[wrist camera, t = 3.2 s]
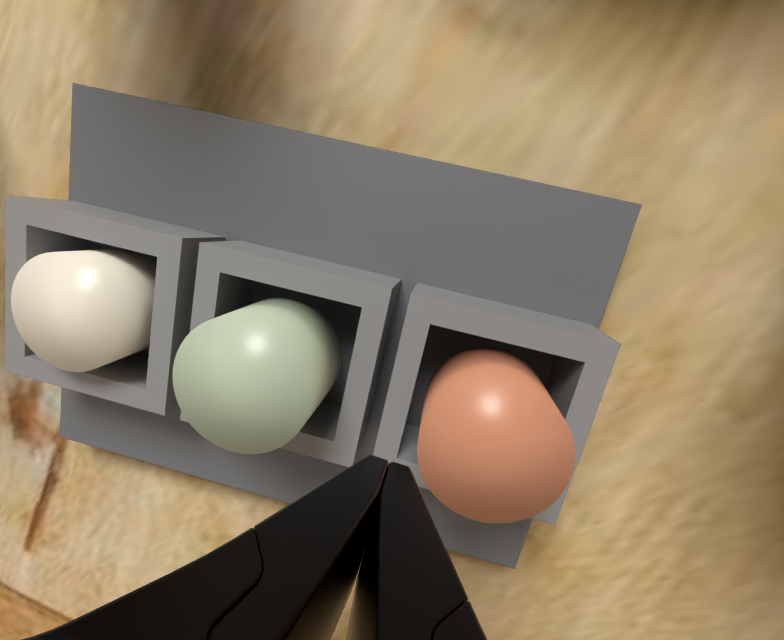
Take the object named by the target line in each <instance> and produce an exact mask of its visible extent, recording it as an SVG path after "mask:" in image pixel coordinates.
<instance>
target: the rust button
mask: <svg viewBox="0 0 784 640" xmlns="http://www.w3.org/2000/svg"><path fill="white" fill-rule="evenodd" d="M417 458H418V465H419V469H420V472H421V475H422V477H423V479H424V481H425V483H426V485H427V487H428V488H429V489H430V491H431V492H432V493H433V495H434V496H435V497H436V498H437V499H438V500H439V501H440V502H441V503H442V504H444V505H445V506H446V507H447V508H449V509H450V510H452V511H454V512H455V513H457V514H459V515H461V516H463V517H466V518H469V519H472V520H475V521H479V522H484V523H493V524H497V523H512V522H517V521H521V520H524V519H527V518H530V517H533V516H534V515H536V514H538V513H540V512H542V511H543V510H545V509H546V508H548V507H549V506H550V505H551V504H553V503H554V502H555V501H556V500H557V499H558V498H559V496H560V495H561V494H562V493H563V491H564V490H565V488H566V487H567V485H568V483H569V481H570V478H571V476H572V473H573V469H574V463H575V446H574V440H573V437H572V434H571V431H570V429H569V427H568V425H567V423H566V421H565V419H564V417H563V416H562V414H561V413H560V411H559V409H558V408H557V406H556V404H555V403H554V401H553V400H552V398H551V396H550V395H549V393H548V392H547V390H546V388H545V387H544V385H543V383H542V382H541V380H540V379H539V377H538V376H537V374H536V373H535V371H534V370H533V369H532V368H531V367H530V366H529V365H528V364H527V363H526V362H525V361H523V360H522V359H520V358H519V357H517V356H515V355H513V354H511V353H509V352H506V351H503V350H499V349H494V348H475V349H470V350H466V351H463V352H460V353H458V354H456V355H454V356H452V357H450V358H449V359H447V360H446V361H445V362H443V363H442V364H441V365H440V366H439V367H438V368H437V369H436V371H435V372H434V373H433V375H432V376H431V378H430V380H429V382H428V385H427V388H426V391H425V396H424V402H423V409H422V416H421V423H420V430H419V436H418V443H417Z"/></svg>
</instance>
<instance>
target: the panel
mask: <svg viewBox="0 0 784 640" xmlns="http://www.w3.org/2000/svg"><path fill="white" fill-rule="evenodd" d="M641 206H642V205H641V204H636V203H631V202H627V201H622V200H617V199H613V198H608V197H603V196H599V195H594V194H589V193H585V192H580V191H575V190H571V189H566V188H561V187H557V186H552V185H547V184H543V183H538V182H533V181H529V180H524V179H519V178H515V177H510V176H505V175H501V174H496V173H491V172H487V171H482V170H477V169H473V168H468V167H463V166H459V165H454V164H449V163H444V162H440V161H435V160H430V159H426V158H421V157H416V156H412V155H407V154H402V153H398V152H393V151H388V150H384V149H379V148H374V147H370V146H365V145H360V144H356V143H351V142H346V141H342V140H337V139H332V138H328V137H323V136H318V135H314V134H309V133H304V132H300V131H295V130H290V129H286V128H281V127H276V126H272V125H267V124H262V123H257V122H253V121H248V120H243V119H239V118H234V117H229V116H225V115H220V114H215V113H211V112H206V111H201V110H197V109H192V108H187V107H183V106H178V105H173V104H169V103H164V102H159V101H155V100H150V99H145V98H141V97H136V96H131V95H127V94H122V93H117V92H113V91H108V90H103V89H99V88H94V87H89V86H85V85H80V84H75V83H73V90H72V117H71V145H70V172H69V200H56V199H44V198H32V197H19V196H7V195H5V371H6V372H10V373H14V374H17V375H21V376H24V377H28V378H32V379H35V380H39V381H42V382H46V383H49V384H53V385H57V386H60V387H62V392H61V419H60V437H62V438H66V439H69V440H73V441H76V442H80V443H83V444H86V445H90V446H93V447H97V448H100V449H104V450H107V451H110V452H114V453H117V454H121V455H124V456H128V457H131V458H135V459H138V460H141V461H145V462H148V463H152V464H155V465H159V466H162V467H166V468H169V469H172V470H176V471H179V472H183V473H186V474H190V475H193V476H197V477H200V478H203V479H207V480H210V481H214V482H217V483H221V484H224V485H228V486H231V487H234V488H238V489H241V490H245V491H248V492H252V493H255V494H259V495H262V496H265V497H269V498H272V499H276V500H279V501H283V502H286V503H290V504H291V503H293V502H294V501H296V500H297V499H299V498H301V497H302V496H304V495H305V494H307V493H309V492H310V491H312V490H314V489H315V488H317V487H318V486H320V485H322V484H323V483H325V482H326V481H328V480H330V479H331V478H333V477H335V476H336V475H338V474H339V473H341V472H343V471H344V470H346V469H347V468H349V467H351V466H352V465H354V464H355V463H357V462H359V461H360V460H362V459H364V458H365V457H367V456H369V455H374V456H377V457H380V458H383V459H386V460H388V462H389V463H390V462H396V463H399V464H403V465H406V466H408V467H410V469H411V471H412V473H413V475H414V477H415V480H416V482H417V484H418V486H419V489H420V491H421V493H422V495H423V498H424V500H425V502H426V504H427V507H428V509H429V511H430V513H431V516H432V518H433V520H434V522H435V525H436V527H437V529H438V531H439V534H440V536H441V538H442V540H443V543H444V545H445V547H446V549H448V550H451V551H455V552H458V553H462V554H465V555H469V556H472V557H475V558H479V559H482V560H486V561H489V562H493V563H496V564H500V565H503V566H506V567H510V568H513V569H515V566H516V563H517V560H518V558H519V555H520V552H521V549H522V546H523V543H524V540H525V537H526V535H527V532H528V529H529V526H530V523H531V520H532V519H536V520H539V521H543V522H546V523H550V524H554V525H555V523H556V520H557V518H558V515H559V512H560V509H561V507H562V504H563V501H564V499H565V496H566V493H567V490H568V488H569V485H570V482H571V479H572V477H573V474H574V471H575V468H576V466H577V463H578V460H579V458H580V455H581V452H582V449H583V447H584V444H585V441H586V438H587V436H588V433H589V430H590V428H591V425H592V422H593V419H594V417H595V414H596V411H597V408H598V406H599V403H600V400H601V397H602V395H603V392H604V389H605V387H606V384H607V381H608V378H609V376H610V373H611V370H612V367H613V365H614V362H615V359H616V356H617V354H618V351H619V348H620V346H621V344H620V343H619V342H617V341H616V340H614V339H613V338H611V337H610V336H608V335H606V334H605V333H603V332H602V331H600V330H599V326H600V323H601V320H602V317H603V314H604V311H605V309H606V306H607V303H608V300H609V297H610V294H611V291H612V289H613V286H614V283H615V280H616V277H617V274H618V271H619V269H620V266H621V263H622V260H623V257H624V254H625V251H626V249H627V246H628V243H629V240H630V237H631V234H632V231H633V228H634V226H635V223H636V220H637V217H638V214H639V211H640V208H641ZM121 248H124V249H128V250H132V251H136V252H140V253H144V254H148V255H152V256H156V257H157V266H156V278H155V289H154V300H153V312H152V323H151V335H150V346H149V348H147V349H145V350H142V351H139V352H137V353H134V354H132V355H129V356H126V357H124V358H121V359H119V360H116V361H114V362H111V363H108V364H106V365H103V366H101V367H98V368H95V369H93V370H90V371H85V372H69V371H65V370H61V369H58V368H56V367H54V366H52V365H50V364H48V363H46V362H45V361H43V360H42V359H41V358H39V357H38V356H37V355H36V354H35V353H34V352H33V351H32V350H31V349H30V348H29V347H28V345H27V344H26V343H25V341H24V340H23V338H22V337H21V335H20V333H19V331H18V329H17V327H16V324H15V321H14V318H13V314H12V308H11V291H12V286H13V283H14V280H15V277H16V275H17V274H18V272H19V270H20V269H21V268H22V266H23V265H24V264H25V263H26V262H27V261H29V260H30V259H32V258H33V257H35V256H38V255H40V254H44V253H49V252H63V251H82V250H101V249H121ZM273 297H288V298H294V299H297V300H301V301H303V302H305V303H307V304H309V305H311V306H313V307H314V308H316V309H317V310H318V311H319V312H321V313H322V314H323V315H324V316H325V317H326V318H327V320H328V321H329V322H330V324H331V325H332V327H333V329H334V330H335V332H336V335H337V337H338V340H339V343H340V348H341V368H340V372H339V375H338V378H337V380H336V382H335V384H334V385H333V387H332V388H331V390H330V391H329V392H328V394H327V395H326V396H325V398H324V399H323V400H322V402H321V403H320V404H319V406H318V407H317V408H316V410H315V411H314V412H313V414H312V415H311V416H310V418H309V419H308V420H307V422H306V423H305V424H304V426H303V427H302V428H301V430H300V431H299V432H298V433H297V435H296V436H295V437H294V438H293V439H291V440H290V441H289V442H288V443H286V444H285V445H283V446H282V447H280V448H278V449H275V450H273V451H270V452H266V453H261V454H240V453H236V452H231V451H228V450H225V449H223V448H220V447H218V446H216V445H214V444H213V443H211V442H210V441H208V440H206V439H205V438H204V437H203V436H201V435H200V434H199V433H198V432H197V431H196V430H195V429H194V428H193V427H192V426H191V424H190V423H189V422H188V421H187V419H186V418H185V416H184V414H183V413H182V411H181V409H180V407H179V405H178V402H177V399H176V396H175V392H174V388H173V378H172V377H173V365H174V360H175V357H176V353H177V351H178V349H179V347H180V345H181V343H182V342H183V340H184V339H185V337H186V336H187V335H188V334H189V333H190V332H191V331H192V330H193V329H195V328H196V327H197V326H199V325H200V324H202V323H204V322H206V321H208V320H211V319H213V318H216V317H219V316H221V315H224V314H227V313H229V312H232V311H235V310H238V309H240V308H243V307H246V306H248V305H251V304H254V303H257V302H259V301H262V300H265V299H269V298H273ZM475 348H494V349H499V350H503V351H506V352H509V353H511V354H513V355H515V356H517V357H519V358H520V359H522V360H523V361H525V362H526V363H527V364H528V365H529V366H530V367H531V368H532V369H533V370H534V371H535V373H536V374H537V376H538V377H539V379H540V380H541V382H542V383H543V385H544V387H545V388H546V390H547V392H548V393H549V395H550V396H551V398H552V400H553V401H554V403H555V404H556V406H557V408H558V409H559V411H560V413H561V414H562V416H563V417H564V419H565V421H566V423H567V425H568V427H569V429H570V431H571V434H572V437H573V440H574V446H575V463H574V469H573V473H572V476H571V478H570V481H569V483H568V485H567V487H566V488H565V490H564V491H563V493H562V494H561V495H560V496H559V498H558V499H557V500H556V501H555V502H554V503H553V504H551V505H550V506H549V507H548V508H546V509H545V510H543V511H542V512H540V513H538V514H536V515H534V516H533V517H530V518H527V519H524V520H521V521H517V522H512V523H497V524H493V523H484V522H479V521H475V520H472V519H469V518H466V517H463V516H461V515H459V514H457V513H455V512H454V511H452V510H450V509H449V508H447V507H446V506H445V505H444V504H442V503H441V502H440V501H439V500H438V499H437V498H436V497H435V496H434V495H433V493H432V492H431V491H430V489H429V488H428V487H427V485H426V483H425V481H424V479H423V477H422V475H421V472H420V469H419V465H418V458H417V443H418V436H419V430H420V423H421V416H422V409H423V402H424V396H425V391H426V388H427V385H428V382H429V380H430V378H431V376H432V375H433V373H434V372H435V371H436V369H437V368H438V367H439V366H440V365H441V364H442V363H443V362H445V361H446V360H447V359H449V358H450V357H452V356H454V355H456V354H458V353H460V352H463V351H466V350H470V349H475ZM388 466H389V465H388Z"/></svg>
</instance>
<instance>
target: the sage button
mask: <svg viewBox="0 0 784 640" xmlns="http://www.w3.org/2000/svg"><path fill="white" fill-rule="evenodd" d="M340 368H341V348H340V343H339V340H338V337H337V335H336V332H335V330H334V329H333V327H332V325H331V324H330V322H329V321H328V320H327V318H326V317H325V316H324V315H323V314H322V313H321V312H319V311H318V310H317V309H316V308H314V307H313V306H311V305H309V304H307V303H305V302H303V301H301V300H297V299H294V298H288V297H273V298H269V299H265V300H262V301H259V302H257V303H254V304H251V305H248V306H246V307H243V308H240V309H238V310H235V311H232V312H229V313H227V314H224V315H221V316H219V317H216V318H213V319H211V320H208V321H206V322H204V323H202V324H200V325H199V326H197V327H196V328H195V329H193V330H192V331H191V332H190V333H189V334H188V335H187V336H186V337H185V339H184V340H183V342H182V343H181V345H180V347H179V349H178V351H177V353H176V357H175V360H174V365H173V377H172V378H173V388H174V392H175V396H176V399H177V402H178V405H179V407H180V409H181V411H182V413H183V414H184V416H185V418H186V419H187V421H188V422H189V423H190V424H191V426H192V427H193V428H194V429H195V430H196V431H197V432H198V433H199V434H200V435H201V436H203V437H204V438H205V439H206V440H208V441H210V442H211V443H213V444H214V445H216V446H218V447H220V448H223V449H225V450H228V451H231V452H236V453H240V454H261V453H266V452H270V451H273V450H275V449H278V448H280V447H282V446H283V445H285V444H286V443H288V442H289V441H290V440H291V439H293V438H294V437H295V436H296V435H297V433H298V432H299V431H300V430H301V428H302V427H303V426H304V424H305V423H306V422H307V420H308V419H309V418H310V416H311V415H312V414H313V412H314V411H315V410H316V408H317V407H318V406H319V404H320V403H321V402H322V400H323V399H324V398H325V396H326V395H327V394H328V392H329V391H330V390H331V388H332V387H333V385H334V384H335V382H336V380H337V378H338V375H339V372H340Z"/></svg>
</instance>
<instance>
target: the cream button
mask: <svg viewBox="0 0 784 640" xmlns="http://www.w3.org/2000/svg"><path fill="white" fill-rule="evenodd" d="M156 266H157V257H156V256H152V255H148V254H144V253H140V252H136V251H132V250H128V249H124V248H121V249H101V250H82V251H63V252H49V253H44V254H40V255H38V256H35V257H33V258H32V259H30V260H29V261H27V262H26V263H25V264H24V265H23V266H22V268H21V269H20V270H19V272H18V274H17V275H16V277H15V280H14V283H13V286H12V291H11V308H12V314H13V318H14V321H15V324H16V327H17V329H18V331H19V333H20V335H21V337H22V338H23V340H24V341H25V343H26V344H27V345H28V347H29V348H30V349H31V350H32V351H33V352H34V353H35V354H36V355H37V356H38V357H39V358H41V359H42V360H43V361H45V362H46V363H48V364H50V365H52V366H54V367H56V368H58V369H61V370H65V371H69V372H85V371H90V370H93V369H95V368H98V367H101V366H103V365H106V364H108V363H111V362H114V361H116V360H119V359H121V358H124V357H126V356H129V355H132V354H134V353H137V352H139V351H142V350H145V349H147V348H149V346H150V335H151V323H152V312H153V300H154V289H155V278H156Z"/></svg>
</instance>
